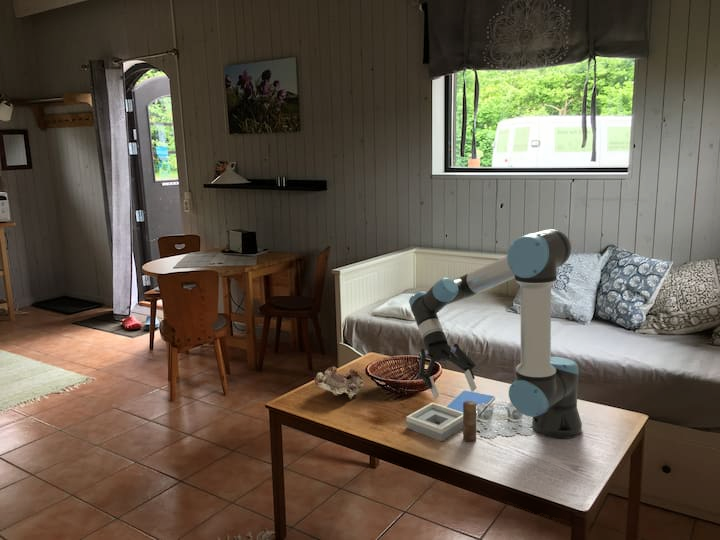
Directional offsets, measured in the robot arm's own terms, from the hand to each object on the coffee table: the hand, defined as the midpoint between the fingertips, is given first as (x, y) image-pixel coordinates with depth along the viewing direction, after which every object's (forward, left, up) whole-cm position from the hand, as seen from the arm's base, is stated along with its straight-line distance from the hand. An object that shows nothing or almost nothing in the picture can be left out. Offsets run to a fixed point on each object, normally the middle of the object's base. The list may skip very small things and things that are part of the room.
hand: (455, 393), depth 194 cm
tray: (+6, +2, -12) cm, 14 cm away
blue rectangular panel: (+7, -18, -13) cm, 23 cm away
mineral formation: (+49, +4, -13) cm, 51 cm away
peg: (-7, +3, -12) cm, 15 cm away
